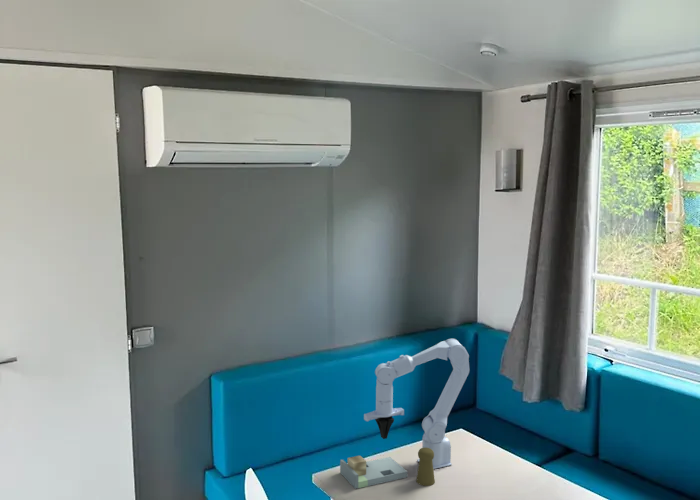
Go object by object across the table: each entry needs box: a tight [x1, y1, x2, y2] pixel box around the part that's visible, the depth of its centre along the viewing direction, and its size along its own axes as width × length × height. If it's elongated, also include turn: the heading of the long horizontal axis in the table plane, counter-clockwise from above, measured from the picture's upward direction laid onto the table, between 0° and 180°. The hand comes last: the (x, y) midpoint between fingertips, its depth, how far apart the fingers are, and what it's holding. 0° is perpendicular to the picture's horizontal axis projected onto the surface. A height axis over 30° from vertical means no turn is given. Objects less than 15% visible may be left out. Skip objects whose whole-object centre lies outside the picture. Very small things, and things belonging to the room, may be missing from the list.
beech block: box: [347, 455, 367, 476], centre depth 203 cm, size 5×5×5 cm
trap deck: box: [339, 456, 408, 490], centre depth 206 cm, size 19×12×4 cm, turn 115°
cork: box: [415, 447, 436, 487], centre depth 201 cm, size 6×6×11 cm
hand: (383, 437), depth 212 cm, fingers closed
